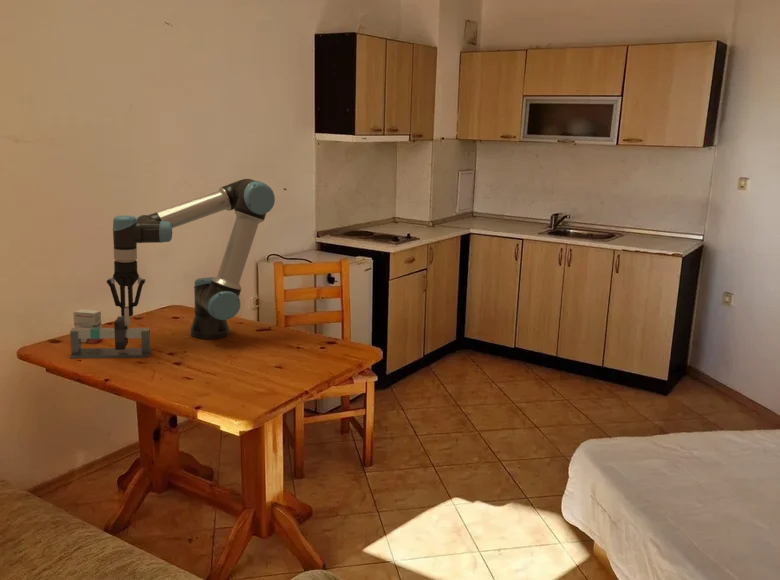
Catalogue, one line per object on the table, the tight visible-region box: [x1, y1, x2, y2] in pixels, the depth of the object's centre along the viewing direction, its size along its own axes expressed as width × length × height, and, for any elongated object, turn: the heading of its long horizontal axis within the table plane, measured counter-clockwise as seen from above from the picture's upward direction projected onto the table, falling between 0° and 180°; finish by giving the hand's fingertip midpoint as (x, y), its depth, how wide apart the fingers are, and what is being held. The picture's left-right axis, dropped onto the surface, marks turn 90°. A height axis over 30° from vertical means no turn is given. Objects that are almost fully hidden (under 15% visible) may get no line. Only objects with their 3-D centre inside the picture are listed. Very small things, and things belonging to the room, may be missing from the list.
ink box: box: [73, 308, 103, 344], centre depth 257 cm, size 9×5×12 cm, turn 84°
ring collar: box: [113, 315, 129, 350], centre depth 244 cm, size 3×8×10 cm, turn 12°
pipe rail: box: [69, 327, 152, 359], centre depth 244 cm, size 26×8×10 cm, turn 102°
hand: (127, 324), depth 244 cm, fingers closed
